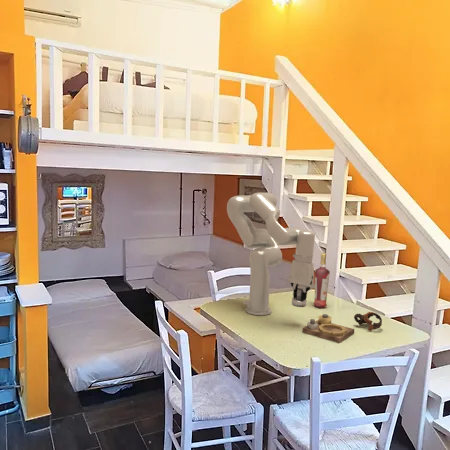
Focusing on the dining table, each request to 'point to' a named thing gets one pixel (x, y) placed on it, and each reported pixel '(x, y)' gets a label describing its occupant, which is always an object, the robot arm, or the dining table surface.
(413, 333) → the dining table surface
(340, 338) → the carrier board
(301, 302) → the knobbed round disc
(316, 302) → the liquor
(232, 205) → the robot arm
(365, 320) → the brown creature figurine
